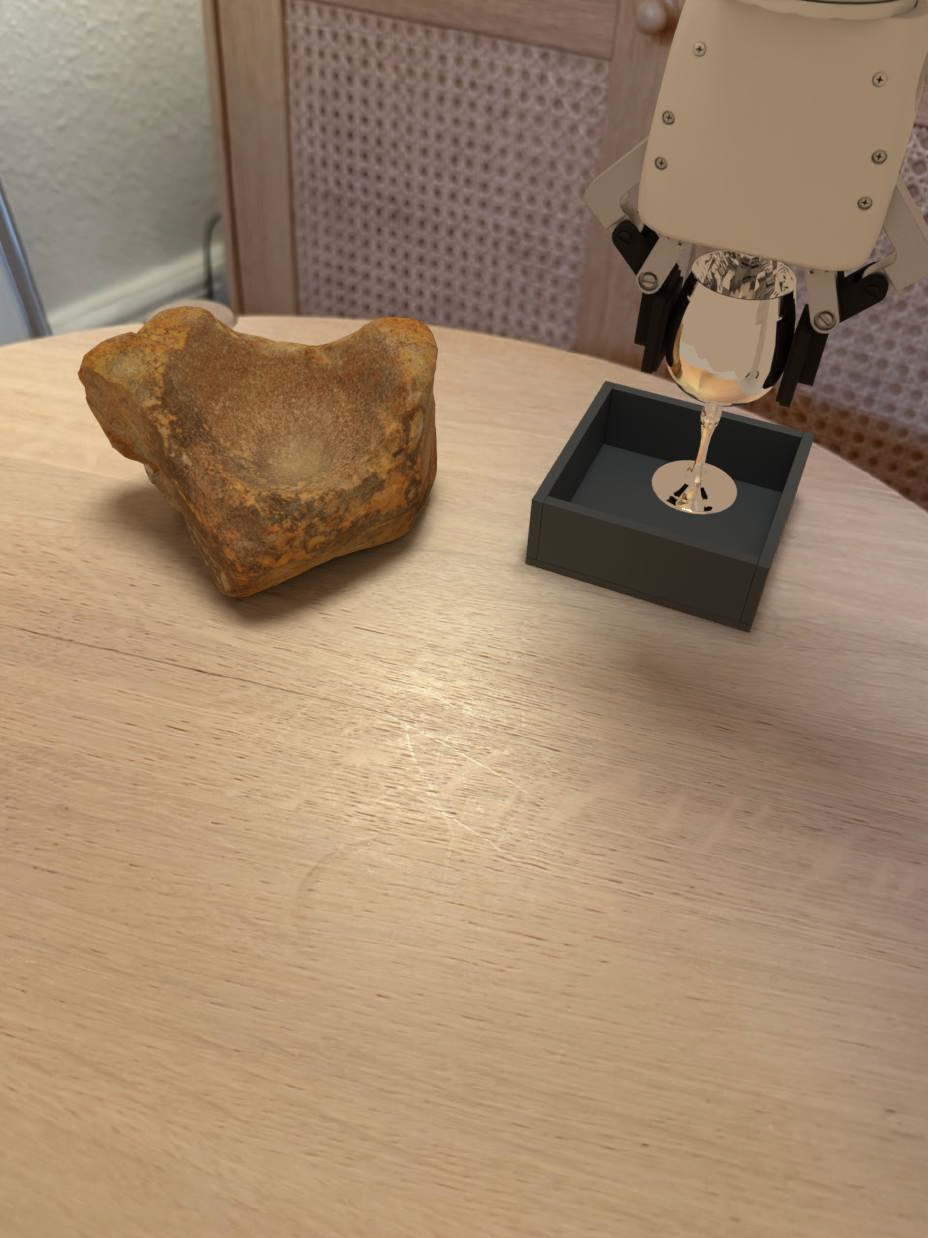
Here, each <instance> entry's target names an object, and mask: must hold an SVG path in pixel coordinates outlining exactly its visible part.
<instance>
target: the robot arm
mask: <svg viewBox="0 0 928 1238" xmlns="http://www.w3.org/2000/svg"><path fill="white" fill-rule="evenodd" d="M676 25H677V26H676V28H675V31H674V35H673V37H672V38H673V39H672V42H671V45H670V49H669V53H668V57H667V60H666V63H665V68H664V72H663V76H662V79H661V85H660V88H659V91H658V96H657V100H656V104H655V109H654V112H653V113H654V114H653V116H652V122H651V127H650V131H649V134H648V135H647V136H646V137H645V138H643V140H642V141H640V142H639V143H637V144H636V145H635V146H634V147H632V148H631V149H630V150H628V151H627V152H626V153H625V154H624V155H622V156H621V157H620V158H618V159H617V160H616V161H615V162H614V163H612V164H611V165H609V167H607V168H606V169H604V170H603V171H602V172H601V173H600V174H598V175H597V176H596V177H595V178H594V179H593V180H592V181H591V183H590V184H589V185H588V187H586V189H585V190H584V193H583V201H584V203H585V204H586V206H587V207H588V209H589V210H590V212H592V214H593V215H594V217H595V218H596V219H597V220H598V222H599V223H600V224H601V226H602V227H603V228H604V230H605V231H608V232H609V234H610V235H611V241H612V244H613V246H614V247H615V249H617V251H618V252H619V254H620V255H621V256H622V258H623V260H624V261H625V263H626V264H627V266H628V267H629V268H630V270H631V271H632V273H634V275H635V276H636V277H635V285H636V287H637V289H638V290H639V291H640V292H641V298H640V303H639V310H638V315H637V322H636V329H635V333H634V334H635V335H634V339H633V341H634V342H633V344H634V345H637V346H642V347H644V349H643V355H642V360H641V366H640V373H641V372H642V373H646V374H650V375H653V373H654V372H655V373H657V372H658V370H659V368H660V366H661V365H662V363H663V361H664V359H665V358H666V357H665V343H666V334H667V329H668V325H669V321H670V317H671V314H672V311H673V308H674V306H675V303H676V300H677V298H678V295H679V293H680V291H681V289H682V287H683V285H684V278H685V277H684V276H682V275H681V273H682V269H680V265H679V264H678V261H679V259H680V258H681V256H682V255H683V253H684V252H685V249H686V248H687V247H688V245H689V244H694V245H699V246H703V247H706V248H712V249H716V250H719V251H729V252H734V253H739V254H744V255H748V256H753V257H758V258H763V259H768V260H772V261H777V262H781V263H783V264H787V265H791V266H797V267H802V268H803V269H804V279H805V286H806V287H805V288H806V294H807V296H806V297H807V303H805V304H804V305H803V308H802V310H801V314H800V317H799V320H798V322H797V325H796V326H795V333H794V337H793V340H792V344H791V347H790V351H789V354H788V358H787V361H786V365H785V368H784V372H783V374H782V376H781V378H780V379H781V380H780V382H779V387H778V391H777V393H776V397H775V400H774V401H775V402H776V403H778V406H779V407H780V406H781V407H785V408H788V409H789V408H791V405H792V402H793V399H794V397H795V393H796V391H797V387H798V384H801V385H805V386H810V387H813V386H814V383H815V380H816V376H817V373H818V370H819V367H820V364H821V361H822V357H823V354H824V351H825V348H826V345H827V341H828V338H829V335H830V333H832V332H834V331H836V329H838V327H839V324H841V323H842V322H844V321H847V320H849V319H850V318H853V317H854V316H856V315H858V314H860V313H862V312H864V311H867V309H869V308H871V307H874V306H875V305H877V304H879V303H880V302H882V301H884V299H885V298H886V296H889V295H891V294H893V293H898V292H899V291H902V290H904V289H906V288H907V287H910V286H912V285H914V284H915V283H918V282H920V281H922V280H925V279H926V278H928V224H927V222H926V221H925V219H924V216H923V215H922V213H921V212H920V209H919V208H918V205H917V204H916V202H915V200H914V198H913V197H912V195H911V193H910V191H909V189H908V187H907V186H906V183H905V181H904V180H903V178H902V176H901V173H902V169H903V166H904V162H905V158H906V154H907V150H908V147H909V143H910V139H911V137H912V136H911V135H912V132H913V129H914V125H915V120H916V117H917V113H918V110H919V106H920V102H921V99H922V95H923V91H924V86H925V82H926V77H927V71H928V0H685V1H684V3H683V8H682V10H681V12H680V15H679V18H678V23H677V24H676ZM638 185H639V186H638ZM637 186H638V195H637V196H638V198H637V209H636V208H635V206H634V203H633V202H632V201H631V199H630V197H629V192H630V191H631V190H633V189H634V188H635V187H637ZM882 229H883V232H884V233H885V235H886V237H887V238H888V240H889V242H890V244H891V246H892V247H893V249H894V251H893V252H892V253H890V254H888V255H887V256H886V257H884V258H883V259H882V260H876V261H873V262H870V263H868V264H866V265H864V264H865V263H866V262H868V259H869V258H870V257H871V255H872V252H873V250H874V248H875V246H876V244H877V242H878V239H879V237H880V234H881V232H882ZM658 234H659V235H660V236H659V235H658ZM863 265H864V266H863ZM861 266H862V267H861ZM860 267H861V268H860ZM857 268H859V269H857ZM854 269H857V270H855V271H853V272H851V273H850V274H848V275H847V271H850V270H854Z"/></svg>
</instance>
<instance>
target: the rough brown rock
mask: <svg viewBox="0 0 928 1238" xmlns="http://www.w3.org/2000/svg"><path fill="white" fill-rule="evenodd" d="M438 353H439V348H438V343H437V341H436V339H435V336H434V333H433V331H432V330H431V328H430V327H429V326H428V325H427V324H425V322H423V321H422V320H419V319H416V318H409V317H402V316H382V317H379V318H376V319H373V320H371V321H369V322H367V323H365V324H363V325H362V326H361V327H360V328H359V329H357V330H356V331H354V332H351V333H349V334H347V335H345V336H343V337H341V338H338V339H335V340H332V341H331V342H327V343H323V344H319V345H310V344H309V345H308V344H305V343H299V342H292V341H282V340H281V341H277V340H273V339H270V338H267V337H264V336H262V335H255V334H249V333H245V332H241V331H237V330H234V329H233V328H231V327H229V326H228V325H227V323H224V322H223V321H222V320H221V319H219V318H217V317H216V316H215V315H214V314H213V313H212V312H211V311H210V310H208V309H205V308H203V307H200V306H191V305H183V306H178V307H171V308H167V309H164V310H161V311H159V312H158V313H156V314H155V315H154V316H152V317H151V318H150V319H149V320H148V321H147V322H146V323H144V325H142V327H141V328H140V329H139V330H138V331H137V332H133V331H129V332H125V333H121V334H118V335H115V336H112V337H109V338H107V339H105V340H102V341H101V342H99V343H98V344H97V345H95V346H94V347H93V348H91V349H90V350H88V351H87V352H86V353H85V354H83V357H82V359H81V363H80V366H79V370H78V371H77V377H78V380H79V381H80V383H81V385H82V386H83V387H84V393H85V401H86V403H87V405H88V407H89V410H90V411H91V413H92V415H93V416H94V418H95V420H96V421H97V423H98V425H99V426H100V428H101V430H102V432H103V433H104V435H105V437H106V438H107V440H108V441H109V444H110V446H111V448H112V449H114V450H115V451H117V452H118V454H120V455H121V456H123V457H124V458H125V459H127V460H130V461H134V462H138V463H140V464H142V465H143V467H144V470H145V473H146V475H147V478H148V480H149V481H150V483H151V484H152V485H154V486H155V487H156V489H158V491H159V492H160V493H161V494H162V496H163V497H164V498H165V500H166V501H167V503H168V504H169V505H170V506H171V507H172V508H173V509H175V510H177V511H178V512H180V513H181V514H182V516H183V518H184V519H183V520H184V522H185V524H186V529H187V532H188V534H189V537H190V539H191V541H192V542H193V545H194V548H196V549H197V551H198V552H199V554H200V556H201V558H202V560H203V562H204V564H205V566H206V569H207V571H208V573H209V576H210V577H211V580H212V582H213V583H214V585H215V587H216V588H217V590H218V591H219V592H220V593H221V594H222V595H225V596H228V597H230V598H242V597H244V598H245V597H250V596H253V595H254V594H257V593H259V592H262V591H264V590H267V589H270V588H273V587H276V586H278V585H280V584H282V583H284V582H286V581H288V580H289V579H292V578H294V577H297V576H299V575H301V574H303V573H305V572H306V571H309V570H310V569H312V568H314V567H316V566H319V565H321V564H324V563H327V562H329V561H331V560H332V559H335V558H339V557H342V556H343V557H344V556H345V555H348V554H351V553H354V552H357V551H361V550H366V549H370V548H374V547H378V546H381V545H384V544H387V543H391V542H392V541H395V540H397V539H399V538H401V537H402V536H404V535H406V534H408V533H409V532H410V531H411V529H412V527H413V526H414V524H415V521H416V519H417V517H418V515H419V514H420V513H421V511H422V509H423V508H424V507H425V506H426V504H427V502H428V499H429V496H430V493H431V490H432V488H433V487H434V486H433V485H434V483H435V480H436V476H437V472H438V440H437V439H438V438H437V426H436V425H437V424H436V400H435V399H436V398H435V394H434V386H435V375H436V370H437V360H438Z"/></svg>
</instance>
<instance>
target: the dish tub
mask: <svg viewBox="0 0 928 1238" xmlns="http://www.w3.org/2000/svg"><path fill="white" fill-rule="evenodd" d="M703 406H704V404H703V405H702V404H699V403H695V402H690V401H687V400H682V399H679V398H675V397H672V396H671V397H670V396H668V395H663V394H659V393H655V392H651V391H648V390H645V389H641V388H636V387H633V386H628V385H624V384H620V383H616V382H612V381H609V380H605V381H604V382H603V383H602V385H601V387H600V389H598V391H597V392H596V394H595V396H594V398H593V400H592V401H591V403H590V405H589V407H588V408H587V409H586V411H585V413H584V414H583V416H582V417H581V419H580V420H579V422H578V424H577V426H576V427H575V429H574V430H573V432H572V433H571V436H569V439H568V440H567V442H566V443H565V444H564V446H563V448H562V450H561V452H560V453H559V454H558V456H557V458H556V459H555V461H554V463H553V464H552V466H551V468H550V469H549V471H548V472H547V473H546V476H545V478H543V480H542V482H541V484H540V485H539V487H538V489H537V490H536V492H535V493H534V495H533V497H532V498H531V503H530V515H529V524H528V534H527V544H526V553H525V554H526V555H525V564H528V565H530V566H534V567H537V568H540V569H543V570H547V571H551V572H553V573H557V574H560V575H563V576H566V577H569V578H572V579H576V580H580V581H581V582H582V581H583V582H586V583H589V584H592V585H595V586H599V587H602V588H605V589H608V590H612V591H614V592H619V593H621V594H625V595H628V596H631V597H634V598H638V599H641V600H644V601H647V602H651V603H655V604H657V605H661V606H663V607H667V608H670V609H673V610H676V611H680V612H683V613H686V614H689V615H692V616H696V617H699V618H703V619H705V620H709V621H712V622H715V623H718V624H722V625H726V626H728V627H731V628H735V629H738V630H742V631H745V632H748V633H750V632H751V630H752V626H753V624H754V621H755V618H756V614H757V613H758V609H759V606H760V604H761V603H760V602H761V600H762V596H763V593H764V590H765V588H766V585H767V583H768V582H767V581H768V579H769V577H770V573H771V570H772V567H773V564H774V561H775V559H776V555H777V552H778V549H779V546H780V543H781V540H782V539H783V538H782V537H783V534H784V532H785V529H786V525H787V522H788V520H789V517H790V514H791V510H792V508H793V504H794V502H795V499H796V496H797V492H798V489H799V486H800V483H801V480H802V477H803V473H804V471H805V468H806V465H807V461H808V458H809V455H810V453H811V448H812V446H813V442H814V440H815V436H816V434H815V433H811V432H808V431H803V430H799V429H796V428H792V427H788V426H784V425H781V424H776V423H773V422H770V421H765V420H762V419H761V420H760V419H756V418H754V417H750V416H746V415H745V416H744V415H741V414H738V413H735V412H730V411H726V410H722V414H721V418H720V420H719V422H718V425H717V426H716V427H715V429H714V431H713V434H712V436H711V438H710V442H709V445H708V449H707V454H706V459H705V463H708V464H711V465H713V466H715V467H717V468H719V469H721V470H723V471H724V472H725V473H727V474H728V475H729V476H730V477H731V478H732V480H733V481H734V483H735V485H736V488H737V496H736V499H735V501H734V502H733V504H732V505H731V506H730V507H728V508H727V509H725V510H723V511H720V512H717V513H712V514H692V513H687V512H683V511H680V510H677V509H675V508H672V507H671V506H669V505H667V504H666V503H664V502H663V501H662V500H660V499H659V498H658V496H657V495H656V494H655V492H654V490H653V488H652V478H653V475H654V473H655V472H656V471H657V469H659V468H660V467H661V466H663V465H665V464H667V463H670V462H674V461H680V460H693V461H695V460H696V457H697V453H698V449H699V444H700V440H701V422H700V420H701V411H702V409H703Z"/></svg>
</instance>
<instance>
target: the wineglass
mask: <svg viewBox="0 0 928 1238" xmlns="http://www.w3.org/2000/svg"><path fill="white" fill-rule="evenodd" d="M796 322H797V277H796V275H795V273H794V271H793V270H791V268H790V267H788V266H787V265H786V264H785V263H782V262H777V261H772V260H768V259H763V258H758V257H753V256H748V255H744V254H739V253H734V252H729V251H725V250H716V251H713V252H709V253H706V254H703V255H702V256H699V257H698V258H696V260H695V261H694V262H693V264H692V266H691V268H690V270H689V272H688V274H687V276H686V278H685V281H683V284H682V289H681V291H680V293H679V295H678V298H677V300H676V303H675V306H674V308H673V311H672V314H671V317H670V321H669V325H668V329H667V334H666V343H665V357H664V358H665V364H666V367H667V371H668V373H669V376H670V377H671V379H672V381H673V382H674V383H675V385H676V386H677V387H678V388H679V389H680V390H681V391H682V393H684V394H685V395H687V396H688V397H690V398H692V399H693V400H696V401H698V402H700V403H702V404H703V409H702V411H701V420H700V422H701V440H700V444H699V449H698V453H697V457H696V460H695V461H693V460H680V461H674V462H670V463H667V464H665V465H663V466H661V467H660V468H659V469H657V471H656V472H655V473H654V475H653V478H652V488H653V490H654V492H655V494H656V495H657V496H658V498H659V499H660V500H662V501H663V502H664V503H666V504H667V505H669V506H671V507H672V508H675V509H677V510H680V511H683V512H687V513H692V514H712V513H717V512H720V511H723V510H725V509H727V508H728V507H730V506H731V505H732V504H733V502H734V501H735V499H736V496H737V488H736V485H735V483H734V481H733V480H732V478H731V477H730V476H729V475H728V474H727V473H725V472H724V471H723V470H721V469H719V468H717V467H715V466H713V465H711V464H708V463H705V459H706V454H707V449H708V445H709V442H710V438H711V436H712V434H713V431H714V429H715V427H716V426H717V425H718V422H719V420H720V418H721V414H722V411H723V408H732V407H739V406H744V405H748V404H751V403H754V402H756V401H757V400H759V399H760V398H763V397H764V396H766V394H768V393H769V392H770V391H771V390H772V389H773V388H774V387H775V386H776V385H777V383H778V382H779V380H780V379H781V378H782V376H783V372H784V368H785V365H786V361H787V358H788V354H789V351H790V347H791V344H792V340H793V337H794V333H795V330H796Z"/></svg>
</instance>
